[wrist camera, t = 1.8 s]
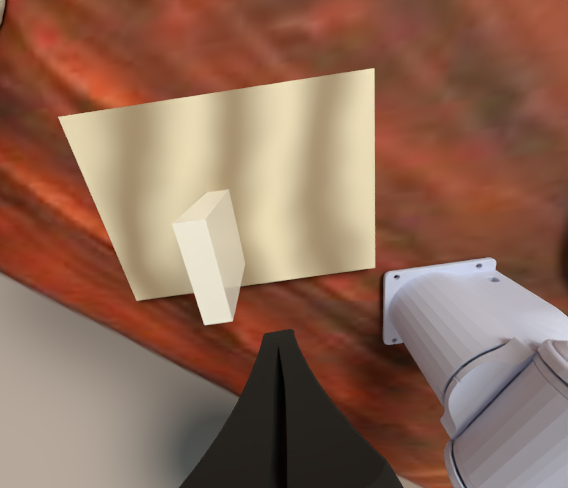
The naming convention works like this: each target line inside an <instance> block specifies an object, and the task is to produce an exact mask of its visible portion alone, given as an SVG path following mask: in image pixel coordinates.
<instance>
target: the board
mask: <svg viewBox="0 0 568 488" xmlns="http://www.w3.org/2000/svg"><path fill="white" fill-rule="evenodd" d="M58 118H59V120H60V123H61V125H62V127H63V130H64V132H65V134H66V137H67V139H68V141H69V144H70V146H71V148H72V151H73V153H74V155H75V158H76V160H77V162H78V165H79V167H80V169H81V172H82V174H83V176H84V179H85V181H86V183H87V186H88V188H89V190H90V193H91V195H92V197H93V200H94V202H95V204H96V207H97V209H98V211H99V214H100V216H101V218H102V221H103V223H104V225H105V228H106V230H107V232H108V235H109V237H110V239H111V242H112V244H113V246H114V249H115V251H116V253H117V256H118V258H119V260H120V263H121V265H122V267H123V270H124V272H125V275H126V277H127V279H128V282H129V284H130V286H131V289H132V291H133V293H134V296H135V298H136V300H137V301H139V300H146V299H153V298H160V297H167V296H175V295H182V294H189V293H194V291H193V288H192V285H191V282H190V279H189V275H188V272H187V269H186V266H185V263H184V260H183V257H182V254H181V251H180V247H179V244H178V241H177V238H176V235H175V232H174V229H173V226H172V223H173V222H175V221H176V220H177V219H178V218H179V217H180V216H181V215H182V214H183V213H185V212H186V211H187V210H188V209H189V208H190V207H191V206H192V205H194V204H195V203H196V202H197V201H198V200H199V199H200V198H201V197H202V196H204V195H205V194H206V193H208V192H215V191H221V190H228V189H229V192H230V197H231V201H232V206H233V210H234V215H235V219H236V224H237V228H238V233H239V237H240V242H241V247H242V251H243V256H244V260H245V267H244V272H243V277H242V281H241V286H247V285H254V284H261V283H268V282H275V281H283V280H290V279H297V278H304V277H312V276H319V275H326V274H333V273H340V272H348V271H355V270H362V269H369V268H375V122H374V68H372V69H366V70H360V71H353V72H347V73H340V74H334V75H327V76H321V77H314V78H308V79H301V80H295V81H288V82H282V83H275V84H269V85H263V86H256V87H250V88H243V89H237V90H230V91H224V92H217V93H211V94H204V95H198V96H191V97H185V98H178V99H172V100H166V101H159V102H153V103H146V104H140V105H133V106H127V107H120V108H114V109H107V110H101V111H94V112H88V113H81V114H75V115H69V116H62V117H58Z"/></svg>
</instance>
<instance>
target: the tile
mask: <svg viewBox="0 0 568 488" xmlns="http://www.w3.org/2000/svg"><path fill="white" fill-rule="evenodd" d="M172 226H173V229H174V232H175V235H176V238H177V241H178V244H179V247H180V251H181V254H182V257H183V260H184V263H185V266H186V269H187V272H188V275H189V279H190V282H191V285H192V288H193V291H194V294H195V297H196V300H197V303H198V307H199V310H200V313H201V316H202V319H203V322H204V325H209V324H217V323H224V322H231V321H233V318H234V313H235V309H236V304H237V300H238V295H239V290H240V286H241V281H242V277H243V272H244V267H245V260H244V256H243V251H242V247H241V242H240V237H239V233H238V228H237V224H236V219H235V215H234V210H233V206H232V201H231V197H230V192H229V189H228V190H221V191H215V192H208V193H206V194H205V195H204V196H202V197H201V198H200V199H199V200H198V201H197V202H196V203H195V204H194V205H192V206H191V207H190V208H189V209H188V210H187V211H186V212H185V213H183V214H182V215H181V216H180V217H179V218H178V219H177V220H176V221H175V222H173V223H172Z"/></svg>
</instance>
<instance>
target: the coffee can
mask: <svg viewBox="0 0 568 488" xmlns="http://www.w3.org/2000/svg"><path fill="white" fill-rule="evenodd" d="M4 8H5V0H0V25H1V23H2V16H3V13H4Z"/></svg>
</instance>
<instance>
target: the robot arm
mask: <svg viewBox="0 0 568 488" xmlns="http://www.w3.org/2000/svg"><path fill="white" fill-rule="evenodd" d="M477 264H478V266H476V265H477ZM495 268H496V260H494V259H493V258H482V259H475V260H468V261H461V262H453V263H446V264H439V265H432V266H424V267H417V268H410V269H403V270H396V271H389V272H387V273H385V274H384V280H383V341H384V343H385V344H386V345H392V344H399V343H404V344H405V346H406V347H407V349H408V350H409V352H410V354H411V355H412V357H413V359H414V360H415V362H416V363H417V365H418V367H419V368H420V370H421V372H422V373H423V375H424V376H425V378H426V380H427V381H428V383H429V384H430V386H431V388H432V389H433V391H434V393H435V394H436V396H437V397H438V399H439V401H440V402H441V404H442V405H443V407H444V409H445V412H444V415H443V416H442V418H441V419H440V421H441V423H442V425H443V426H444V428H445V430H446V431H447V433H448V435H449V437H450V438H451V439H450V440H449V441H448V442H447V444H446V446H445V451H444V460H445V465H446V469H447V472H448V475H449V478H450V481H451V483H452V485H453V487H454V488H568V317H567V316H566V315H565V314H564V313H562V312H561V311H560V310H558V309H557V308H556V307H554V306H552V305H551V304H549V303H548V302H546V301H544V300H543V299H541V298H540V297H538V296H536V295H535V294H533V293H532V292H530V291H528V290H527V289H525V288H523V287H522V286H520V285H519V284H517V283H515V282H514V281H512V280H511V279H509V278H507V277H506V276H504V275H503V274H501V273H499V272H498V271H496V270H495ZM395 275H398V276H397V277H396V278H394V276H395ZM394 338H395V339H394ZM179 488H403V486H402V484H401V482H400V481H399V479H398V478H397V476H396V474H395V473H394V471H393V470H392V468H391V466H390V465H389V463H388V462H387V460H386V459H385V458H384V457H383V456H382V455H381V454H380V453H379V452H378V451H377V450H375V449H374V448H373V447H372V446H371V445H370V444H369V443H368V442H367V441H366V440H365V439H364V437H363V436H362V435H361V434H360V433H359V432H358V431H357V430H356V429H355V428H354V427H353V426H352V425H351V423H350V422H349V421H348V420H347V419H346V418H345V416H344V415H343V414H342V413H341V412H340V411H339V409H338V408H337V407H336V406H335V404H334V403H333V402H332V401H331V399H330V398H329V397H328V395H327V394H326V392H325V391H324V390H323V388H322V387H321V385H320V384H319V382H318V381H317V379H316V378H315V376H314V374H313V373H312V371H311V370H310V368H309V366H308V364H307V362H306V361H305V359H304V357H303V355H302V353H301V351H300V349H299V346H298V344H297V341H296V338H295V335H294V331H293V330H292V329H288V330H282V331H277V332H271V333H265V334H264V336H263V339H262V343H261V347H260V350H259V353H258V356H257V359H256V361H255V364H254V367H253V369H252V372H251V374H250V377H249V379H248V381H247V383H246V385H245V388H244V390H243V392H242V394H241V396H240V398H239V400H238V402H237V404H236V406H235V407H234V409H233V411H232V413H231V415H230V417H229V418H228V420H227V421H226V423H225V425H224V426H223V428H222V430H221V431H220V433H219V435H218V436H217V438H216V439H215V440H214V442H213V443H212V445H211V446H210V448H209V449H208V450H207V452H206V453H205V455H204V456H203V457H202V459H201V460H200V462H199V463H198V464H197V466H196V467H195V468H194V470H193V471H192V472H191V473H190V475H189V476H188V477H187V479H186V480H185V481H184V482H183V483H182V485H181V486H180V487H179Z"/></svg>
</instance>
